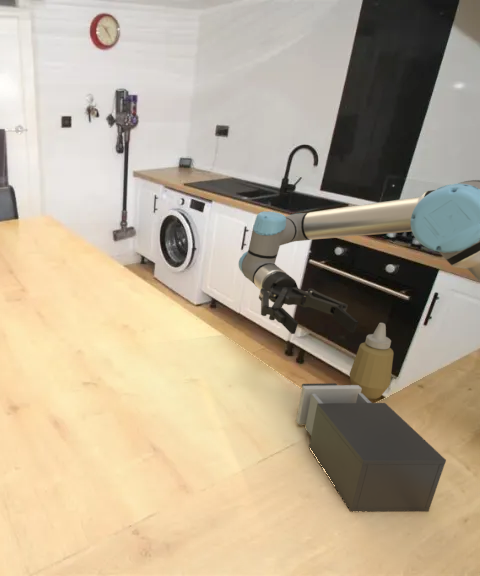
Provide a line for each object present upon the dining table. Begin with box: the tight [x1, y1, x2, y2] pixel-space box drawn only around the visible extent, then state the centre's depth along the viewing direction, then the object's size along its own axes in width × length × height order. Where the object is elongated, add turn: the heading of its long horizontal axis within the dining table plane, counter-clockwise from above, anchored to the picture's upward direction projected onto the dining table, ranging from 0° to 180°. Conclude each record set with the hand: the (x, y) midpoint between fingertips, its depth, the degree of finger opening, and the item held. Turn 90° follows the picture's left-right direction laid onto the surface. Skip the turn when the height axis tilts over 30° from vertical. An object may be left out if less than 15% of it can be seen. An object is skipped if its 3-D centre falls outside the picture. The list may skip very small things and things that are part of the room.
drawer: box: [295, 382, 372, 436], centre depth 81 cm, size 18×11×9 cm, turn 179°
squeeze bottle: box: [349, 322, 395, 400], centre depth 94 cm, size 8×8×18 cm
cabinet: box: [308, 402, 447, 513], centre depth 72 cm, size 15×13×11 cm
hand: (325, 328), depth 86 cm, fingers open, 13 cm apart
